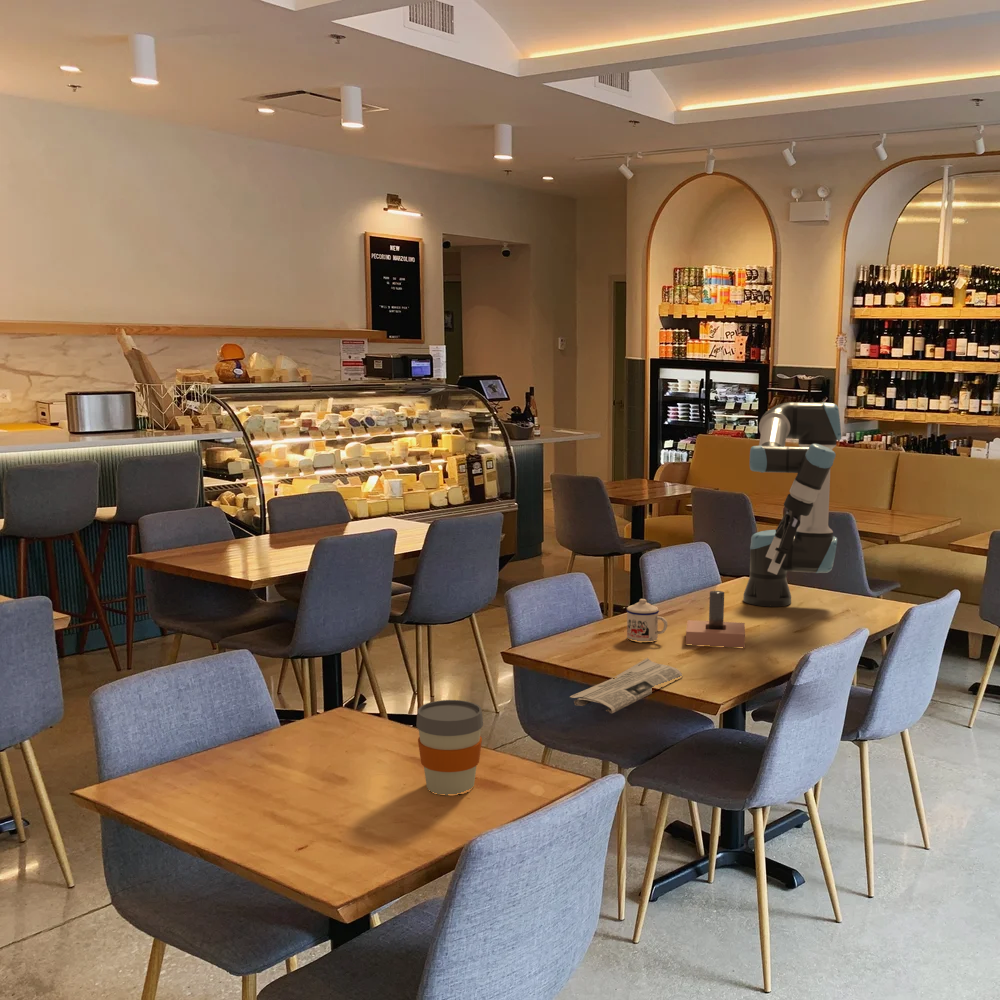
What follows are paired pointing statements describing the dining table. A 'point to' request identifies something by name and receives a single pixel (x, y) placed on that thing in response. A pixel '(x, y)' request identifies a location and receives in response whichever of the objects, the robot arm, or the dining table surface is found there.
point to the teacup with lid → (643, 621)
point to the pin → (716, 610)
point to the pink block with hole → (715, 634)
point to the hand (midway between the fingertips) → (771, 565)
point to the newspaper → (628, 685)
